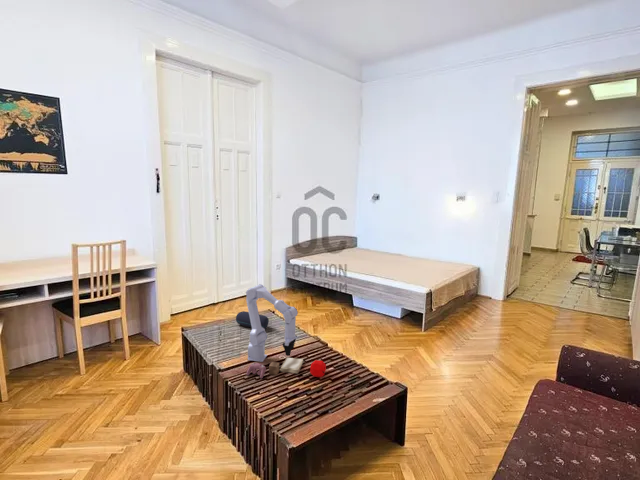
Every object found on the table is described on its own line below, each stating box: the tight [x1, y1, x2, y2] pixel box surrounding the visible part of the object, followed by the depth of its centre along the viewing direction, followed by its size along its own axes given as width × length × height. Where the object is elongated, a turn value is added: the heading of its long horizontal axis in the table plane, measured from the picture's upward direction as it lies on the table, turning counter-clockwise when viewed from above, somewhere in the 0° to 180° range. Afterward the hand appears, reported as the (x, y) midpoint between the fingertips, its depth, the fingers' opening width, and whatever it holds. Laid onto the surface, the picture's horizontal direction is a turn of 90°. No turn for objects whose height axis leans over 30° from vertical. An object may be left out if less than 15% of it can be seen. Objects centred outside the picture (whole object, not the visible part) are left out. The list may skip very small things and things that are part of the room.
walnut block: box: [268, 361, 280, 376], centre depth 186 cm, size 4×4×5 cm
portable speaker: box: [235, 310, 270, 330], centre depth 245 cm, size 25×10×10 cm, turn 66°
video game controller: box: [246, 362, 267, 379], centre depth 183 cm, size 10×5×7 cm, turn 71°
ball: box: [309, 359, 327, 378], centre depth 184 cm, size 8×8×8 cm
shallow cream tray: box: [280, 357, 304, 374], centre depth 193 cm, size 10×12×2 cm
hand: (289, 352), depth 190 cm, fingers open, 7 cm apart
